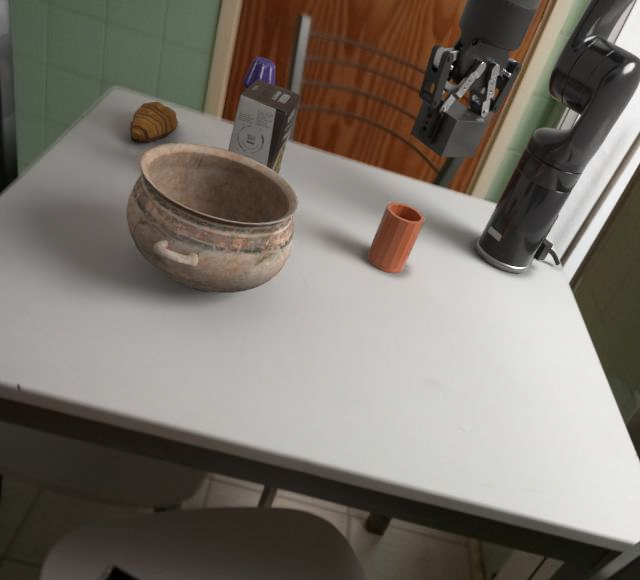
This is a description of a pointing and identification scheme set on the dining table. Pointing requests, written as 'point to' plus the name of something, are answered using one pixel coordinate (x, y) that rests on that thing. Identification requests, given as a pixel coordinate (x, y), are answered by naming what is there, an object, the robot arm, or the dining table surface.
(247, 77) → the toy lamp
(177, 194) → the cooking pot
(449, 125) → the block
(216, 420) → the dining table surface
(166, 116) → the croissant
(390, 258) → the cup
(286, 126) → the coffee box
